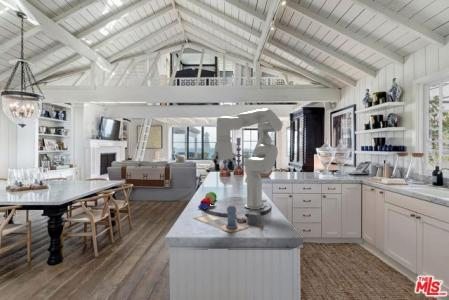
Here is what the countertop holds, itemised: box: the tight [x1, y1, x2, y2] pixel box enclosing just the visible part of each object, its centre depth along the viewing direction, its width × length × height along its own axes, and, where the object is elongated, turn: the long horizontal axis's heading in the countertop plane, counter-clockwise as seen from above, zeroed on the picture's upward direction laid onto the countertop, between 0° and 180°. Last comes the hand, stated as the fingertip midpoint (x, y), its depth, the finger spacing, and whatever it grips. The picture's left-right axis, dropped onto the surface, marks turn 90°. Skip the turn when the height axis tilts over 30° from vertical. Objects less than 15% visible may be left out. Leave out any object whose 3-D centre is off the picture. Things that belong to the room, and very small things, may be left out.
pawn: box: [226, 204, 238, 229], centre depth 134 cm, size 6×6×11 cm
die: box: [247, 211, 262, 225], centre depth 142 cm, size 5×5×5 cm
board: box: [192, 213, 250, 234], centre depth 142 cm, size 12×32×1 cm, turn 40°
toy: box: [197, 191, 219, 210], centre depth 176 cm, size 8×8×15 cm
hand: (224, 170), depth 152 cm, fingers open, 9 cm apart
